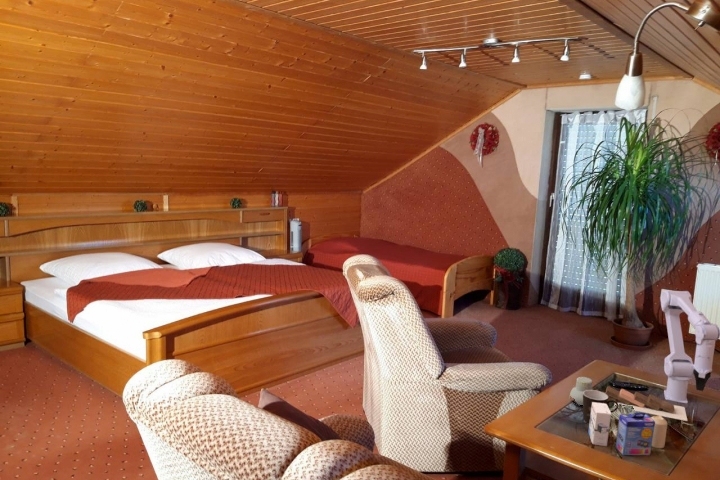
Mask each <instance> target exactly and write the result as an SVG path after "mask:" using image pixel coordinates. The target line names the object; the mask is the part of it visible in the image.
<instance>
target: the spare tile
mask: <svg viewBox="0 0 720 480" xmlns="http://www.w3.org/2000/svg"><path fill="white" fill-rule="evenodd" d="M619 392H620V397H622V398H624V399H626V400H628V401H630V402H632V403H634V404H636V405H638V406H640V407H642V408H643V407H644V405H645V404H642V403H640V402H638V401H636V400H634V394H635V393H634V394H633V393H631V392H630V391H628V390H626V389H624V388H621V389H620V391H619Z"/></svg>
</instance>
